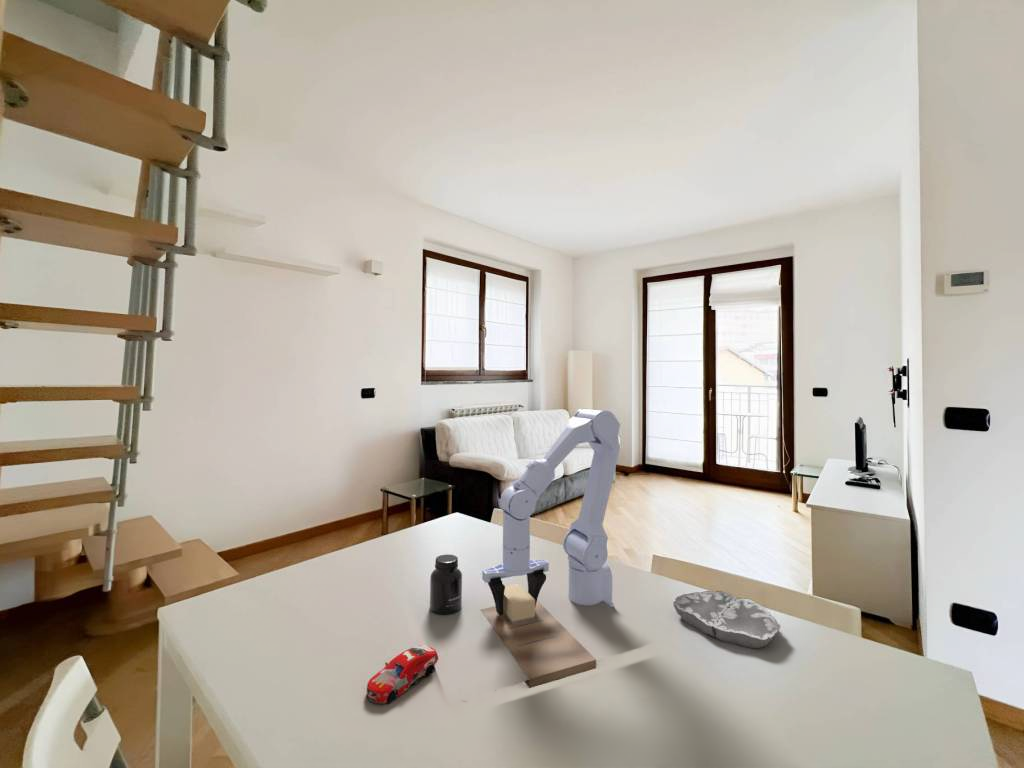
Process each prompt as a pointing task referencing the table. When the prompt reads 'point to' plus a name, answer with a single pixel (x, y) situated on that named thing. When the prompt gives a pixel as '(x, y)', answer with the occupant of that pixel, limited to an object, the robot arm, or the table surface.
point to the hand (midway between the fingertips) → (515, 609)
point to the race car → (401, 674)
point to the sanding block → (518, 604)
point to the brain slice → (728, 618)
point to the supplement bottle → (446, 586)
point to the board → (541, 646)
